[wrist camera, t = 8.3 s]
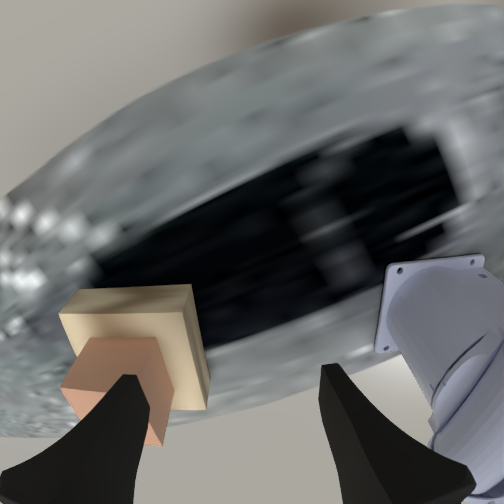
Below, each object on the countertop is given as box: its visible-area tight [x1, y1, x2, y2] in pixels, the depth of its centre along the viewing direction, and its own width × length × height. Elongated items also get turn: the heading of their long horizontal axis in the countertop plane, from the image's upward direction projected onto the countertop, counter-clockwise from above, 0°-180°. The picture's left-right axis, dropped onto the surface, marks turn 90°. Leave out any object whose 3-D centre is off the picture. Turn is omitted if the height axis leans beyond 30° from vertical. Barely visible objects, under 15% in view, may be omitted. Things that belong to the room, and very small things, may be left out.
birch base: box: [59, 284, 210, 410], centre depth 21 cm, size 9×9×4 cm
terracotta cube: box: [60, 337, 174, 446], centre depth 17 cm, size 5×5×5 cm
